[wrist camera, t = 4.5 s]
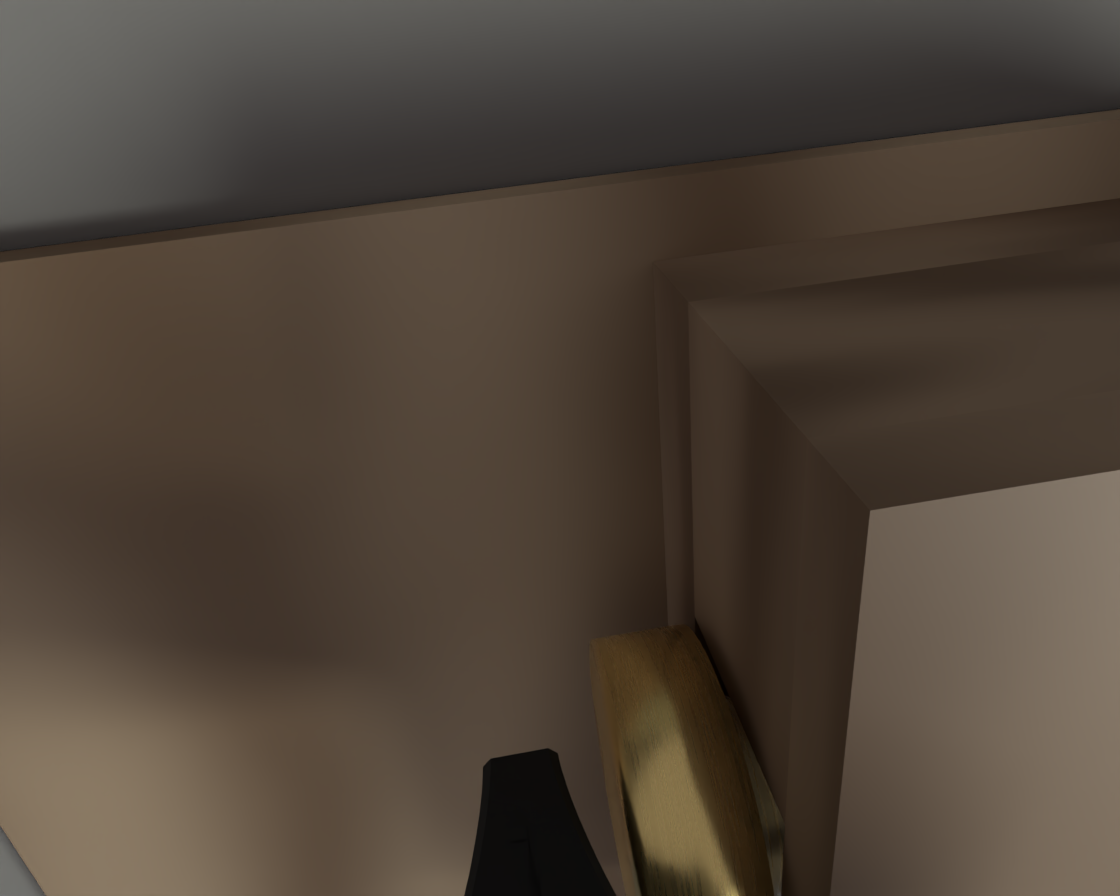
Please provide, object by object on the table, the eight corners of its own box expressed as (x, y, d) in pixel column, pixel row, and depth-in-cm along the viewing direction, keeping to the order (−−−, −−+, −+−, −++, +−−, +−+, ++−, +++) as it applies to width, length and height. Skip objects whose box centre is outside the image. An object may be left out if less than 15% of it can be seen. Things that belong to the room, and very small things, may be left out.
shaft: (602, 788, 13) (672, 1108, 9) (579, 571, 11) (659, 869, 7) (1232, 672, 14) (1534, 922, 10) (1324, 448, 12) (1746, 658, 8)
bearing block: (127, 973, 16) (-31, 1479, 11) (-297, 289, 9) (-1335, 697, 4) (1164, 772, 18) (1497, 1118, 12) (1433, 69, 11) (2440, 133, 6)
